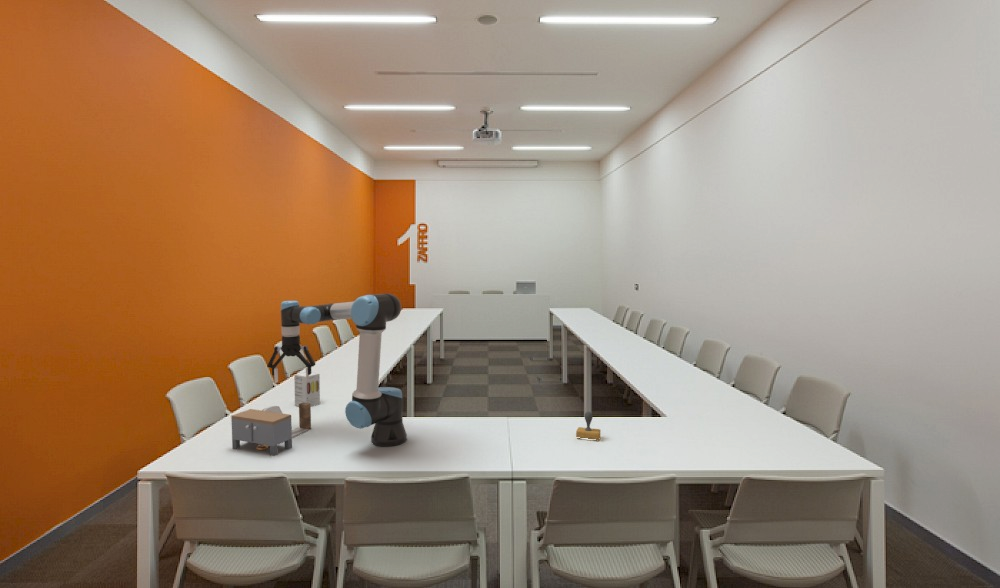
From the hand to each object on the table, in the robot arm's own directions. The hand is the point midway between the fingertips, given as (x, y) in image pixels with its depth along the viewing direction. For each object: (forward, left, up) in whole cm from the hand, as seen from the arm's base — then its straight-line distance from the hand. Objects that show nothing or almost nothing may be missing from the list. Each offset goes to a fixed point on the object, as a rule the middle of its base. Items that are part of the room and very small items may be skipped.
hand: (292, 382), depth 237 cm
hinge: (+16, -3, -23) cm, 28 cm away
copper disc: (-2, +20, -23) cm, 31 cm away
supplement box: (+24, -37, -23) cm, 50 cm away
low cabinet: (-2, +20, -23) cm, 31 cm away
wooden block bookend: (-2, +4, -23) cm, 23 cm away
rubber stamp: (-126, -42, -23) cm, 135 cm away
